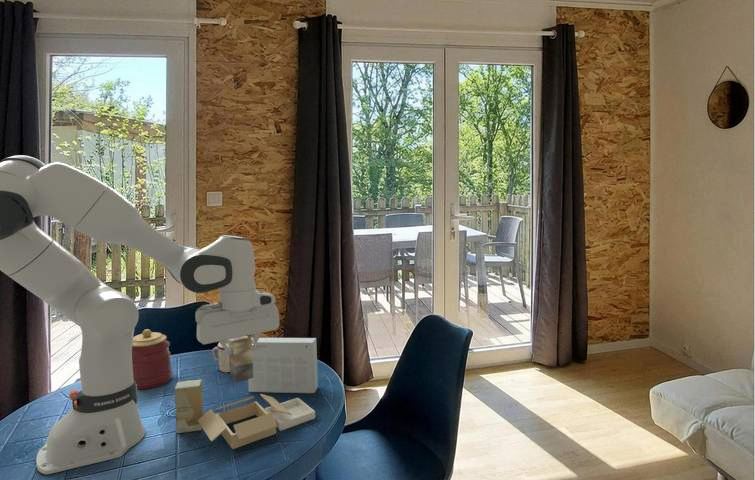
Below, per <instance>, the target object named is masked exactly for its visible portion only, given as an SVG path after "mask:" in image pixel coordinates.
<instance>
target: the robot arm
mask: <svg viewBox="0 0 755 480" xmlns="http://www.w3.org/2000/svg"><path fill="white" fill-rule="evenodd" d="M40 216H41V217H42V216H46V217H47V216H48V217H51V218H53V219H56V220H58V221H60V222H62V223H63V224H64V225H66V226H68V227H70V228H71V229H73V230H74V231H76V232H78V233H80V234H83V235H84V236H86V237H88V238H91V239H93V240H97V241H99V242H101V243H104V244H109V245H119V246H126V247H128V248H131V249H134V250H136V251H138V252H140V253H142V255H145V256H146V257H148V258H150V259H152V260H153V261H156V263H157V262H158V263H159V264H161V265H162V266H164V268H166V269H167V271H168V272H169V274H170V275H171V277H172V278H173V279H174V280H175V281H176V282H177V283H178V284H180V285H182V287H183V288H185V289H186V290H188V291H190V292H192V293H197V294H202V293H203V294H204V293H209V292H211V291H212V292H213V291H215V290H218V294H219V295H218V296H219V298H218V299H219V302H214V303H210V304H202V305H200V307H198V308H196V311H195V314H194V317H195V318H194V319H195V322H196V339H197V341H198V342H199V343H201V344H202V345H207V344H213V343H219V342H220V344H221V345H222V346H223V348H224V349H225V356H226V357H229V356H233V353H232V352H233V349H232V348H231V347H229V348H228V347H227V346H226V344H228V339H233V338H238V337H243V336H252V338H253V339H252V351H255V350H256V343H257V341H258V339H259V338H261V333H266V332H271V331H272V332H273V331H276V330H277V329H278V328H279V327H280V315H279V310H278V307H277V305H276V304H275V302H276V296H275V295H273V294H272V293H269V292H266V291H263V290H257V285H256V282H255V272H256V264H255V253H254V247H253V244H252V243H253V242H251V241H250V239H248V238H246V237H242V236H238V235H231V234H230V235H227V234H226V235H225V234H224V235H221V236H219V237H218V238H217V240H215V241H213V242H212V243H210V244H209V245H207V246H205V247H203V248H200V247H196V246H189V245H185V244H184V245H183V244H181V243H178V242H176V241H175V240H173V239H171V238H170V237H168V236H167V235H165V234H163V233H162V232H160V231H159V230H157V229H155V227H152V226H151V225H150V224H149V223H148V222H147V221H146V220H145V219H144V218H143V216H142V215H141V213H140V212H139V210H138V208H137V207H136V206H135V205H134V204H133V203H132V202H131V201H129V200H128V199H127V198H126V197H125V196H123V195H122V194H121V193H120V192H118V191H117V190H115V189H114V188H112V187H111V186H109V185H108V184H106V183H104V182H103V181H101V180H99V179H97V178H95V177H94V176H92V175H90V174H88V173H87V172H84V171H82V170H80V169H78V168H76V167H74V166H71V165H68V164H66V163H64V162H63V163H62V162H52V163H48V164H45V163H44V162H43V161H41V160H39V159H37V157H36V158H35V157H32V156H30V155H24V154H23V155H22V154H21V155H19V154H18V155H13V156H12V155H11V156H9V157H6V158H3V159H1V160H0V271H1V272H2V273H4V274H5V275H6V276H8V277H9V278H11V279H12V280H13V281H14V282H16V283H18V284H19V285H20V286H21V287H23V288H24V289H26V290H28V291H29V292H30V293H32V294H33V295H34V296H36V297H38V298H39V299H40V300H42V301H43V302H44V303H46V304H47V305H48V306H50V307H51V308H53V309H54V310H56V311H57V312H59V313H60V314H61V315H63V316H64V317H65V318H67V319H68V320H70V321H71V322H72V323H74V324H75V325H77V326H78V327H80V330H81V337H82V342H81V351H80V352H81V353H80V356H79V358H78V365H79V366H78V367H79V378H80V385H81V386H80V387H81V390H80V391H79V390H78V389H73V390H71V391H70V392H69V399H70V400H71V404H72V409H71V410H69V411H68V412H67V413H66V414H65V415H64V416H63V417H62V418H60V419H59V420H58V421H57V422H56V423H54V425H53V426H52V427H51V429H50V431H49V432H48V433H49V434H48V437H47V440H46V443H45V444H44V445H43V446H42V447H41V448H40V449H39V451H38V452H37V454H36V458H35V466H36V469H37V471H38V472H39V473H41V474H43V475H51V474H55V473H59V472H63V471H67V470H68V471H69V470H72V469H75V468H81V467H84V466H89V465H92V464H97V463H101V462H106V461H109V460H115V459H118V458H121V457H122V456H124V455H125V454H126V452H127V451H128V450H129V449H131V448H132V447H134V446H135V445H136V444H138V443H139V442H141V441H142V439H143V438H144V437H145V435H146V428H145V427H144V424H143V422H142V419H141V416H140V412H139V409H138V408H139V407H138V398H139V396H138V395H139V394H138V389H137V384H136V382H135V379H134V377H133V365H132V342H133V337H134V335H135V334H134V333H135V328H136V326H137V324H138V322H139V317H140V315H139V313H140V312H139V308H138V307H137V305H136V304H135V302H134V301H133V299H132V298H131V297H130V296H129V295H128V294H126V293H123V292H122V291H119V290H116V289H115V288H112V287H110V286H109V285H107V284H106V283H105V282H103V281H102V280H101V279H100V278H99V277H98V276H96V275H95V273H93V272H92V271H91V270H90V269H89V268H88V267H87V266H86V265H85V264H84V263H83V262H82V261H81V260H80V259H78V258H77V257H76V256H75V255H74V254H72V253H71V252H70V251H69V250H67V249H66V248H65V247H63V245H62V244H60V243H59V242H57V240H55V239H54V238H52V237H51V236H50V235H49V234H47V233H46V232H45V231H43V230H42V229H41V228H39V226H38V225H37V224H36V222H35V220H34V218H36V217H40Z"/></svg>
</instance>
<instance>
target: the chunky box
mask: <svg viewBox="0 0 755 480" xmlns="http://www.w3.org/2000/svg"><path fill="white" fill-rule="evenodd" d="M228 345H229V347H231V348H232V349H233V352H232V353H233V356H229V367H230V373H229V377H230V378H231V379H232V380H233V381H234V382H235V383H238V382H243V381H246V380H248V379H250V378H253V354H252V340H251V338H250V337H249V335H247V336H243V337H238V338H233V339H228Z"/></svg>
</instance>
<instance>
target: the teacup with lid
mask: <svg viewBox="0 0 755 480" xmlns="http://www.w3.org/2000/svg"><path fill="white" fill-rule="evenodd" d="M217 343H218V344H217V346H215V347H214V348H212V351H211V355H212V357H213V359H214V360H216V361H217V362H218V365H219V366H218V367H219V368H218V369H219V370H220V372H223V373H227V372H230V367H229V357H226V356H225V349H224V348H223V346H222V345H221V344H220V341H218V342H217ZM226 346H227V347H228V348H229V345H228V344H226ZM216 350H218V351H217V352H218V355H217V354H216Z"/></svg>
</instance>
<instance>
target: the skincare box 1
mask: <svg viewBox="0 0 755 480" xmlns="http://www.w3.org/2000/svg"><path fill="white" fill-rule="evenodd" d="M203 398H204V397H203V379H194V380H185V381H184V380H183V381H177V382H176V384H175V386H174V403H175V425H176V426H175V427H176V430H175V431H176V433H177V434H181V433H190V432H198V431H203V428H202V427H201V425H200V424H199V422H198V421H197V420H198V419H200V418H201V417H202V416H203V415H204V402H203V401H204V400H203Z"/></svg>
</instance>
